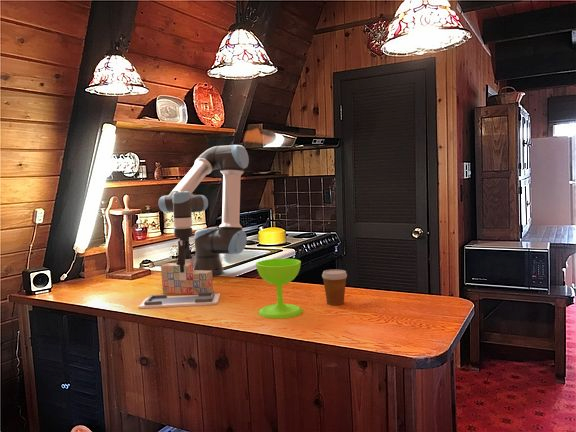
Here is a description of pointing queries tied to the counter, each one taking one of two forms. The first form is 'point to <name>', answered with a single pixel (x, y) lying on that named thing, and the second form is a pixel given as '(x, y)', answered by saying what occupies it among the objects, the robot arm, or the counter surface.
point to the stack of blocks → (192, 285)
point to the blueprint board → (180, 300)
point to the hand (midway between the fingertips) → (185, 277)
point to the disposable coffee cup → (334, 286)
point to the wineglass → (279, 285)
